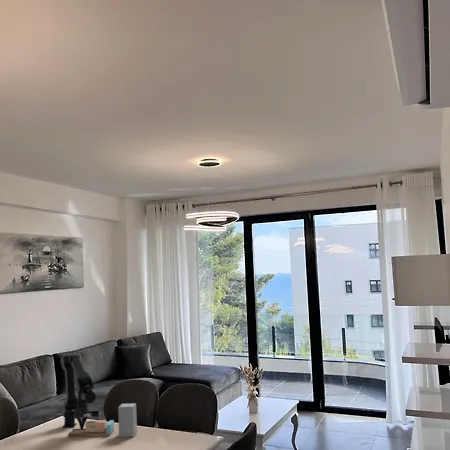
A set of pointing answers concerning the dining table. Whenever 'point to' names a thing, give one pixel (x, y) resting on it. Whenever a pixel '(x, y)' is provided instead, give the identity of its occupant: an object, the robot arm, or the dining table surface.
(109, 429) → the teal end stop
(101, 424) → the block
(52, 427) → the dining table surface
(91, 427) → the beige slanted block
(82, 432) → the channel
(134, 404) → the skincare box
